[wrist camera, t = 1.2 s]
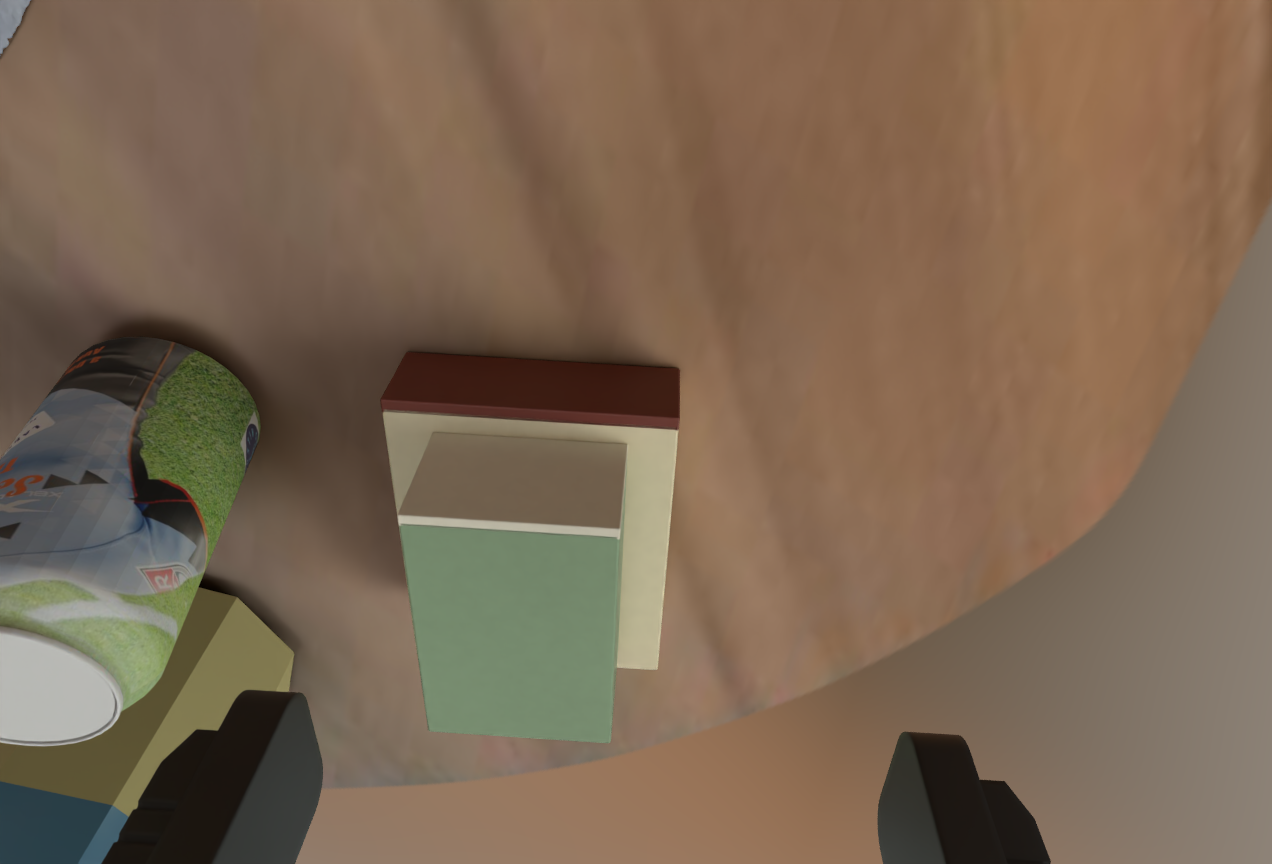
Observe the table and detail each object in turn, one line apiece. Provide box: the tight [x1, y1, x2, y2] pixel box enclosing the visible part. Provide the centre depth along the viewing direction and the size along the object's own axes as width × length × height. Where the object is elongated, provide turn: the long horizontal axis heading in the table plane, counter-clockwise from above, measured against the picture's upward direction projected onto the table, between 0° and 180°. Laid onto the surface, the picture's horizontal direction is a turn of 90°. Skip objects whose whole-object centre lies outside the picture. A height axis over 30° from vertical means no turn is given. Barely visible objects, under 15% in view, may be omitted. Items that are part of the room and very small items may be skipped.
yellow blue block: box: [0, 587, 294, 864], centre depth 30 cm, size 9×9×15 cm
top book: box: [397, 432, 628, 743], centre depth 27 cm, size 9×6×4 cm, turn 177°
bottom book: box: [380, 352, 680, 670], centre depth 30 cm, size 11×9×3 cm
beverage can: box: [0, 337, 261, 746], centre depth 25 cm, size 6×7×12 cm
